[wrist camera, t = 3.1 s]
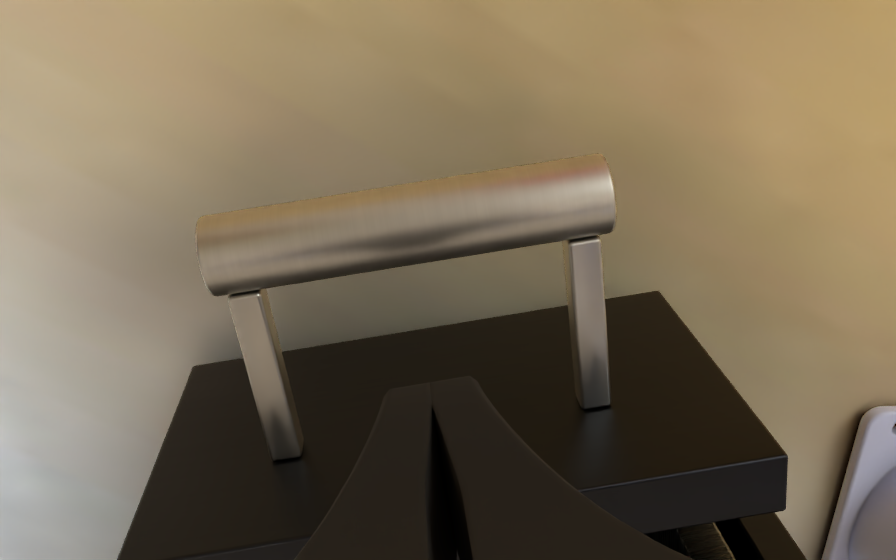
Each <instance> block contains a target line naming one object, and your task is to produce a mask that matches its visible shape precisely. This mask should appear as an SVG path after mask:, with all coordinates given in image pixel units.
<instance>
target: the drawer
mask: <svg viewBox="0 0 896 560" xmlns="http://www.w3.org/2000/svg"><path fill="white" fill-rule="evenodd" d="M616 211H617V209H616V195H615V188H614V183H613V178H612V174H611V171H610V168H609V165H608V163H607V161H606V159H605V157H604V156H603V155H602V154H598V153H597V154H591V155H584V156H578V157H572V158H565V159H559V160H553V161H547V162H540V163H534V164H528V165H521V166H515V167H509V168H502V169H496V170H490V171H483V172H477V173H471V174H464V175H458V176H452V177H446V178H439V179H433V180H427V181H420V182H414V183H408V184H401V185H395V186H389V187H382V188H376V189H370V190H363V191H357V192H351V193H344V194H338V195H332V196H326V197H319V198H313V199H307V200H300V201H294V202H288V203H281V204H275V205H269V206H262V207H256V208H250V209H243V210H237V211H231V212H225V213H218V214H212V215H206V216H202V217H200V218H199V219H198V221H197V224H196V231H195V244H196V253H197V259H198V264H199V268H200V272H201V275H202V278H203V281H204V283H205V285H206V287H207V289H208V291H209V292H210V293H211V294H212V295H214V296H222V295H228V294H229V297H228V304H229V307H230V311H231V315H232V318H233V322H234V326H235V329H236V333H237V337H238V340H239V344H240V348H241V351H242V355H243V358H242V359H236V360H230V361H223V362H217V363H211V364H205V365H199V366H194V367H193V368H192V371H191V374H190V376H189V379H188V381H187V384H186V386H185V389H184V391H183V394H182V396H181V399H180V401H179V404H178V406H177V409H176V412H175V414H174V417H173V419H172V422H171V424H170V427H169V429H168V432H167V434H166V437H165V439H164V442H163V444H162V447H161V450H160V452H159V455H158V457H157V460H156V462H155V465H154V467H153V470H152V472H151V475H150V477H149V480H148V482H147V485H146V488H145V490H144V493H143V495H142V498H141V500H140V503H139V505H138V508H137V510H136V513H135V515H134V518H133V520H132V523H131V525H130V528H129V531H128V533H127V536H126V538H125V541H124V543H123V546H122V548H121V551H120V553H119V556H118V558H117V560H294V559H295V557H296V556H297V555H298V554H299V552H300V551H301V550H302V548H303V547H304V546H305V544H306V543H307V542H308V540H309V539H310V538H311V536H312V535H313V533H314V532H315V531H316V529H317V528H318V526H319V525H320V523H321V522H322V520H323V519H324V517H325V516H326V514H327V513H328V511H329V510H330V508H331V506H332V505H333V503H334V501H335V499H336V498H337V496H338V494H339V493H340V491H341V489H342V488H343V486H344V484H345V483H346V481H347V479H348V478H349V476H350V474H351V472H352V470H353V468H354V466H355V464H356V462H357V460H358V458H359V456H360V454H361V452H362V450H363V448H364V446H365V444H366V442H367V440H368V437H369V435H370V433H371V431H372V428H373V426H374V423H375V421H376V418H377V416H378V413H379V410H380V407H381V404H382V401H383V397H384V396H385V394H386V393H387V392H388V391H389V389H393V388H399V387H405V386H411V385H417V384H423V383H429V382H435V381H441V380H447V379H453V378H459V377H465V376H471V377H472V378H473V379H475V380H476V381H478V383H479V385H480V387H481V389H482V390H483V392H484V394H485V395H486V396H487V398H488V399H489V401H490V402H491V403H492V405H493V406H494V407H495V409H496V410H497V411H498V412H499V414H500V415H501V416H502V417H503V419H504V420H505V421H506V422H507V423H508V424H509V426H510V427H511V428H512V429H513V430H514V431H515V432H516V433H517V434H518V435H519V436H520V437H521V439H522V440H523V441H524V442H525V443H526V444H527V445H528V446H529V447H530V448H531V449H532V450H533V451H534V452H535V453H536V454H537V455H538V456H539V457H540V458H541V459H542V460H543V461H544V462H545V463H546V464H548V465H549V466H550V467H551V468H552V469H553V470H554V471H555V472H556V473H558V474H559V475H560V476H561V477H562V478H563V479H564V480H566V481H567V482H568V483H569V484H570V485H572V486H573V487H574V488H575V489H577V490H578V491H579V492H580V493H582V494H583V495H584V496H586V497H587V498H588V499H590V500H591V501H592V502H594V503H595V504H597V505H598V506H599V507H601V508H602V509H604V510H605V511H607V512H608V513H610V514H611V515H613V516H614V517H616V518H617V519H619V520H620V521H622V522H623V523H625V524H627V525H629V526H630V527H632V528H634V529H636V530H637V531H639V532H641V533H643V534H644V535H646V536H648V537H650V538H651V539H653V540H655V541H657V542H659V543H661V544H662V545H664V546H666V547H668V548H670V549H672V550H674V551H676V552H679V553H681V554H683V555H685V556H687V557H689V558H692V559H694V560H736V559H735V557H734V556H733V554H732V552H731V550H730V549H729V547H728V545H727V543H726V542H725V540H724V538H723V536H722V535H721V533H720V531H719V530H718V528H717V526H716V524H715V523H714V522H720V521H726V520H732V519H738V518H744V517H749V516H755V515H761V514H767V513H773V512H779V511H784V510H785V509H786V490H787V465H788V456H787V454H786V453H785V451H784V450H783V449H782V448H781V446H780V445H779V444H778V443H777V441H776V440H775V439H774V437H773V436H772V435H771V434H770V432H769V431H768V430H767V428H766V427H765V426H764V425H763V423H762V422H761V421H760V420H759V418H758V417H757V416H756V414H755V413H754V412H753V411H752V409H751V408H750V407H749V406H748V404H747V403H746V402H745V400H744V399H743V398H742V397H741V395H740V394H739V393H738V392H737V390H736V389H735V388H734V386H733V385H732V384H731V383H730V381H729V380H728V379H727V377H726V376H725V375H724V374H723V372H722V371H721V370H720V369H719V367H718V366H717V365H716V363H715V362H714V361H713V360H712V358H711V357H710V356H709V355H708V353H707V352H706V351H705V349H704V348H703V347H702V346H701V344H700V343H699V342H698V340H697V339H696V338H695V337H694V335H693V334H692V333H691V332H690V330H689V329H688V328H687V326H686V325H685V324H684V323H683V321H682V320H681V319H680V318H679V316H678V315H677V314H676V312H675V311H674V310H673V309H672V307H671V306H670V305H669V303H668V302H667V301H666V300H665V298H664V297H663V296H662V295H661V293H660V292H659V291H653V292H647V293H641V294H634V295H628V296H622V297H616V298H610V299H605V293H604V278H603V262H602V247H601V239H600V238H599V236H598V235H601V234H607V233H610V232H612V231H613V230H614V227H615V223H616ZM558 241H562V243H563V254H564V266H565V278H566V290H567V301H568V305H567V306H561V307H555V308H549V309H542V310H536V311H530V312H524V313H518V314H512V315H506V316H499V317H493V318H487V319H481V320H475V321H469V322H463V323H457V324H450V325H444V326H438V327H432V328H426V329H420V330H414V331H407V332H401V333H395V334H389V335H383V336H377V337H371V338H364V339H358V340H352V341H346V342H340V343H334V344H328V345H322V346H315V347H309V348H303V349H297V350H291V351H285V352H282V351H281V347H280V343H279V339H278V335H277V331H276V327H275V323H274V319H273V315H272V311H271V307H270V303H269V299H268V295H267V291H266V288H272V287H278V286H284V285H290V284H297V283H303V282H309V281H315V280H321V279H328V278H334V277H340V276H346V275H353V274H359V273H365V272H371V271H377V270H384V269H390V268H396V267H402V266H408V265H415V264H421V263H427V262H433V261H440V260H446V259H452V258H458V257H464V256H471V255H477V254H483V253H489V252H495V251H502V250H508V249H514V248H520V247H527V246H533V245H539V244H545V243H551V242H558ZM457 560H459V556H458V553H457Z"/></svg>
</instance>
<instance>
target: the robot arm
mask: <svg viewBox="0 0 896 560" xmlns="http://www.w3.org/2000/svg"><path fill="white" fill-rule="evenodd" d="M895 423H896V406H878V407H874V408H872V409H870V410H868V411H867V412H866V413H865V414H864V415H863V417H862V419H861V421H860V424H859V428H858V431H857V435H856V438H855V442H854V445H853V449H852V453H851V456H850V460H849V463H848V467H847V471H846V474H845V478H844V481H843V485H842V488H841V492H840V496H839V499H838V503H837V506H836V510H835V514H834V517H833V521H832V524H831V528H830V532H829V535H828V539H827V542H826V546H825V549H824V553H823V557H822V560H896V427H893V426H894V424H895ZM457 553H458V556H459V560H694V559H692V558H689V557H687V556H685V555H683V554H681V553H679V552H676V551H674V550H672V549H670V548H668V547H666V546H664V545H662V544H661V543H659V542H657V541H655V540H653V539H651V538H650V537H648V536H646V535H644V534H643V533H641V532H639V531H637V530H636V529H634V528H632V527H630V526H629V525H627V524H625V523H623V522H622V521H620V520H619V519H617V518H616V517H614V516H613V515H611V514H610V513H608V512H607V511H605V510H604V509H602V508H601V507H599V506H598V505H597V504H595V503H594V502H592V501H591V500H590V499H588V498H587V497H586V496H584V495H583V494H582V493H580V492H579V491H578V490H577V489H575V488H574V487H573V486H572V485H570V484H569V483H568V482H567V481H566V480H564V479H563V478H562V477H561V476H560V475H559V474H558V473H556V472H555V471H554V470H553V469H552V468H551V467H550V466H549V465H548V464H546V463H545V462H544V461H543V460H542V459H541V458H540V457H539V456H538V455H537V454H536V453H535V452H534V451H533V450H532V449H531V448H530V447H529V446H528V445H527V444H526V443H525V442H524V441H523V440H522V439H521V437H520V436H519V435H518V434H517V433H516V432H515V431H514V430H513V429H512V428H511V427H510V426H509V424H508V423H507V422H506V421H505V420H504V419H503V417H502V416H501V415H500V414H499V412H498V411H497V410H496V409H495V407H494V406H493V405H492V403H491V402H490V401H489V399H488V398H487V396H486V395H485V394H484V392H483V390H482V389H481V387H480V385H479V383H478V381H476V380H475V379H473V378H472V377H471V376H465V377H459V378H453V379H447V380H441V381H435V382H429V383H423V384H417V385H411V386H405V387H399V388H393V389H389V391H388V392H387V393H386V394H385V396H384V397H383V401H382V404H381V407H380V410H379V413H378V416H377V418H376V421H375V423H374V426H373V428H372V431H371V433H370V435H369V437H368V440H367V442H366V444H365V446H364V448H363V450H362V452H361V454H360V456H359V458H358V460H357V462H356V464H355V466H354V468H353V470H352V472H351V474H350V476H349V478H348V479H347V481H346V483H345V484H344V486H343V488H342V489H341V491H340V493H339V494H338V496H337V498H336V499H335V501H334V503H333V505H332V506H331V508H330V510H329V511H328V513H327V514H326V516H325V517H324V519H323V520H322V522H321V523H320V525H319V526H318V528H317V529H316V531H315V532H314V533H313V535H312V536H311V538H310V539H309V540H308V542H307V543H306V544H305V546H304V547H303V548H302V550H301V551H300V552H299V554H298V555H297V556H296V557H295V559H294V560H457Z"/></svg>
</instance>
